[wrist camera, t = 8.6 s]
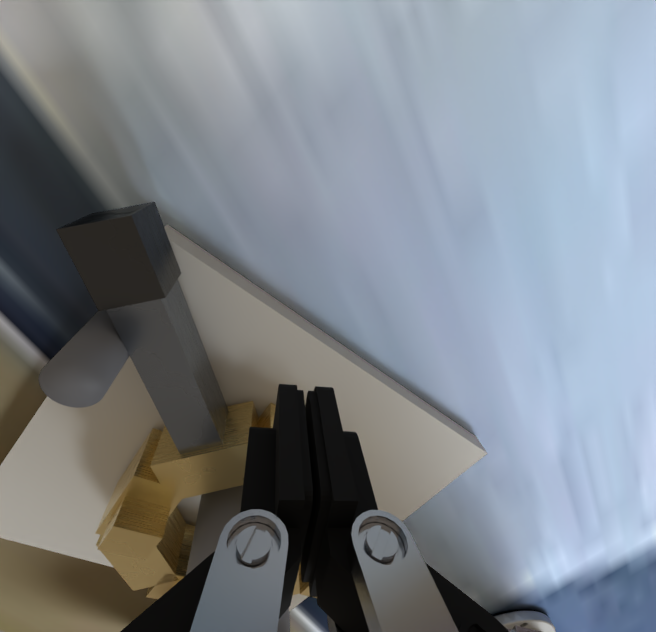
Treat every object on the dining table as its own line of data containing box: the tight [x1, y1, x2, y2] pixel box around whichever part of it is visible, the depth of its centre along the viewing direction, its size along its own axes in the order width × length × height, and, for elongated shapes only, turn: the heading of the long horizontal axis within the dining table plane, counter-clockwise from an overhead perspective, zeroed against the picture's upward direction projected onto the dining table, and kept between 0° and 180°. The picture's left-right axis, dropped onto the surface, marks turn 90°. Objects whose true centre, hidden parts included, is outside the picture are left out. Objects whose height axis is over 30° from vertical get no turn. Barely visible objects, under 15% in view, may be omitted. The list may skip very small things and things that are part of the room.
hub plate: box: [0, 224, 487, 632], centre depth 19 cm, size 24×22×12 cm
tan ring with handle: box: [56, 202, 317, 599], centre depth 18 cm, size 24×14×4 cm, turn 9°
